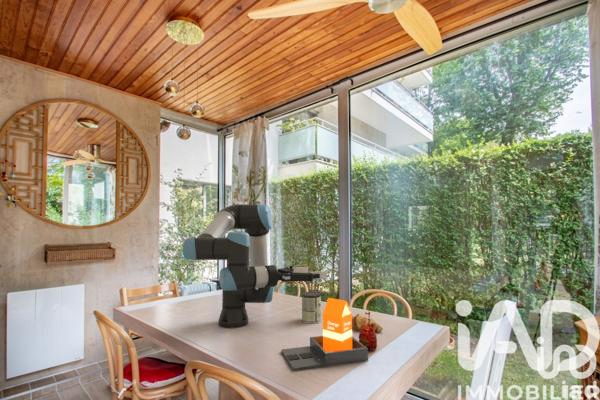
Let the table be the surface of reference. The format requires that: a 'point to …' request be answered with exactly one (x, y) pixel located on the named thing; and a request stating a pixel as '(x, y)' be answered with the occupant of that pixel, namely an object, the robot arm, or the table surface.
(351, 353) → the tray
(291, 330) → the table surface
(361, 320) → the croissant
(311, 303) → the coffee can
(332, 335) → the orange juice
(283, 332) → the table surface
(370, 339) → the red clay folk toy
